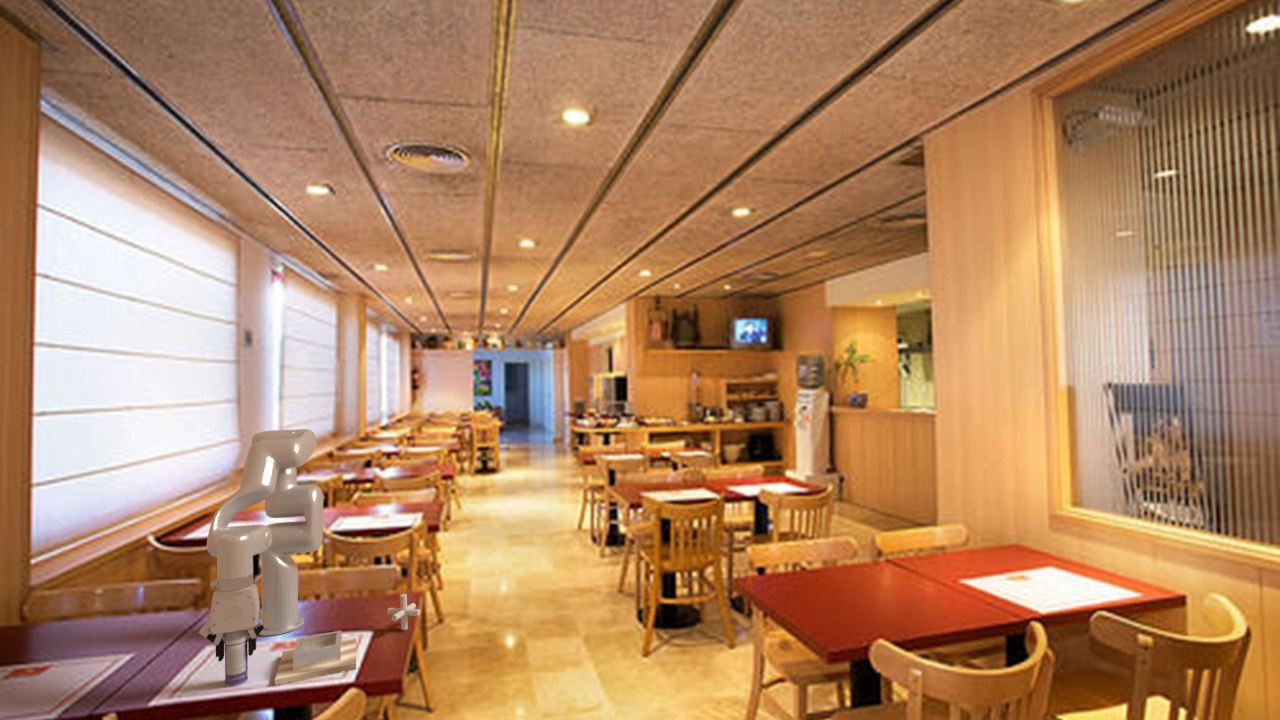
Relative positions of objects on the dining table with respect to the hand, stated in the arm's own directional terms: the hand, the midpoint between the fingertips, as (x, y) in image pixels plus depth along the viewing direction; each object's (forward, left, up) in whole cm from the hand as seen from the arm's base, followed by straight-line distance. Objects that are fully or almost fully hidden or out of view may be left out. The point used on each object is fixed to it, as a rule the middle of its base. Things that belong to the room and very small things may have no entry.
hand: (236, 655), depth 154 cm
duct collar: (-2, +18, -5) cm, 19 cm away
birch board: (-2, +18, -7) cm, 19 cm away
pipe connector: (-15, +40, -7) cm, 43 cm away
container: (0, 0, -7) cm, 7 cm away
